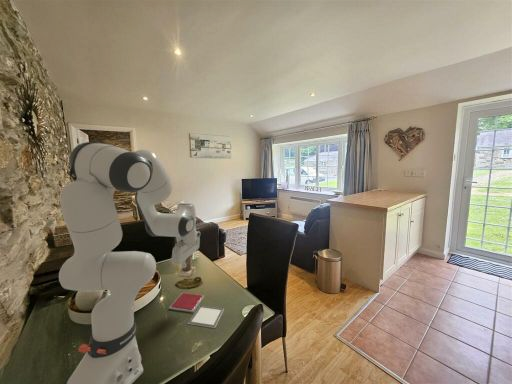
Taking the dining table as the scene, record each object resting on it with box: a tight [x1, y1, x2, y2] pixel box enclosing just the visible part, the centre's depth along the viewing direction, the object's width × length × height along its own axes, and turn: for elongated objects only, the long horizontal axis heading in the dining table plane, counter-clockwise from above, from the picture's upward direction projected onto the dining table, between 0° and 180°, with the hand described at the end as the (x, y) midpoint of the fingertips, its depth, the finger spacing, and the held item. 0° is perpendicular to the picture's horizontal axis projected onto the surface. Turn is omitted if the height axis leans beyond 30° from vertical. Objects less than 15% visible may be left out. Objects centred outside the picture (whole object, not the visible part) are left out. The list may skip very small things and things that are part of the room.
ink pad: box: [168, 292, 205, 313], centre depth 104 cm, size 12×12×1 cm
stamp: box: [177, 256, 197, 279], centre depth 102 cm, size 6×6×9 cm
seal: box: [175, 276, 203, 290], centre depth 120 cm, size 9×5×15 cm
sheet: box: [187, 304, 225, 329], centre depth 95 cm, size 12×12×1 cm
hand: (187, 265), depth 102 cm, fingers closed on stamp, 4 cm apart
